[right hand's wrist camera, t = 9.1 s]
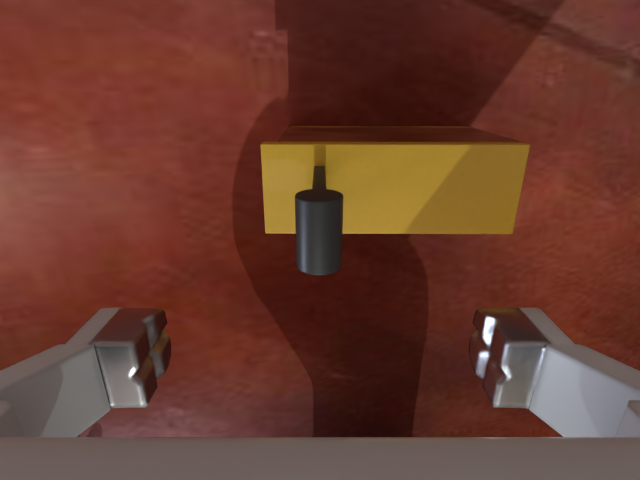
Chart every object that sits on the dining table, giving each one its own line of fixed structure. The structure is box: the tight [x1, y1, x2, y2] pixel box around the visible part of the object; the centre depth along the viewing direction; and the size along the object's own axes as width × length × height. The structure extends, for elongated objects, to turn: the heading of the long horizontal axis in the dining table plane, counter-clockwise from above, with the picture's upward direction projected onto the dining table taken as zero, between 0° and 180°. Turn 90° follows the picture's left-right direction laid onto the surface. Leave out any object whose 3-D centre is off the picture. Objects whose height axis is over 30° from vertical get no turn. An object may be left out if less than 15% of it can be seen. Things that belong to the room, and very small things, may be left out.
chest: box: [278, 126, 519, 142], centre depth 29 cm, size 15×6×9 cm, turn 90°
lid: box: [261, 142, 530, 275], centre depth 21 cm, size 16×6×9 cm, turn 90°
